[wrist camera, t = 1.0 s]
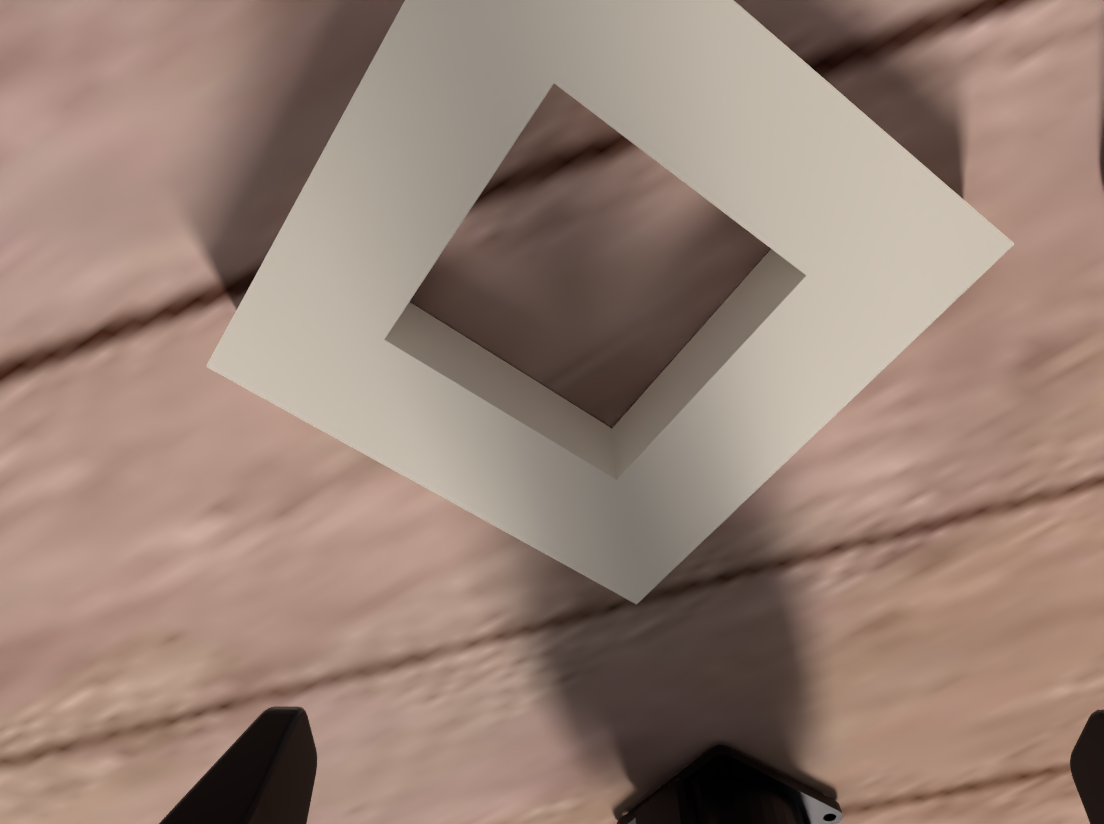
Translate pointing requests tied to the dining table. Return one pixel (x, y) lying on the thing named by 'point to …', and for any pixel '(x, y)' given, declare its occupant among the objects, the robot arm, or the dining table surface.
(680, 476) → the hole plate
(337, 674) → the dining table surface
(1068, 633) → the dining table surface
